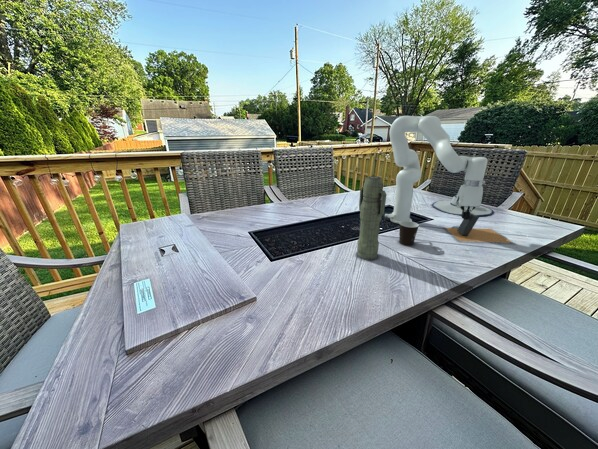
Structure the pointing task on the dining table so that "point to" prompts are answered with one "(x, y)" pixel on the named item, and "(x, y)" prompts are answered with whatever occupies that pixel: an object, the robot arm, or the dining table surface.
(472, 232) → the cork mat
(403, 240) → the coffee mug
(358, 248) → the thermos
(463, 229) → the block
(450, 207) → the sun hat
